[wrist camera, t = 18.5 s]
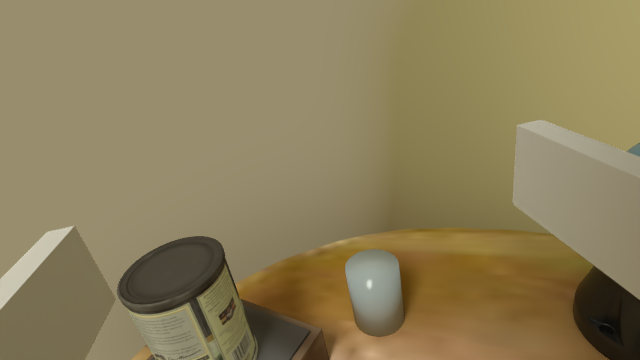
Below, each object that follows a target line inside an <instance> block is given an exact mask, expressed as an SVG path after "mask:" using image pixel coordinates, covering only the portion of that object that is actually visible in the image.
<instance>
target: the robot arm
mask: <svg viewBox="0 0 640 360" xmlns="http://www.w3.org/2000/svg"><path fill="white" fill-rule="evenodd" d="M513 189H514V190H513V205H515V206H516V207H517V208H519V209H520V210H521V211H523V212H524V213H525V214H527V215H528V216H529V217H531V218H532V219H533V220H535V221H536V222H537V223H539V224H540V225H541V226H543V227H544V228H545V229H547V230H548V231H549V232H550V233H552V234H553V235H554V236H556V237H557V238H558V239H560V240H561V241H562V242H564V243H565V244H566V245H568V246H569V247H570V248H572V249H573V250H574V251H576V252H577V253H578V254H580V255H581V256H582V257H584V258H585V259H586V260H588V261H589V262H590V263H592V264H593V265H594V267H593V268H592V269H591V270H590V272H589V273H588V274H587V276H586V277H585V278H584V279H583V281H582V282H581V283H580V284H579V286H578V288H577V290H576V293H575V298H574V304H573V315H574V319H575V322H576V324H577V326H578V328H579V329H580V331H581V332H582V334H583V335H584V336H585V338H586V339H587V340H588V341H589V342H590V343H591V344H592V345H593V346H594V347H595V348H596V349H597V350H599V351H600V352H601V353H602V354H604V355H605V356H606V357H608V358H609V359H611V360H640V143H638V144H637V145H635V146H633V147H632V148H631V149H629V150H628V151H627V152H626V151H623V150H620V149H618V148H615V147H613V146H610V145H607V144H604V143H602V142H599V141H597V140H594V139H591V138H589V137H586V136H583V135H581V134H578V133H575V132H573V131H570V130H567V129H565V128H562V127H559V126H557V125H554V124H551V123H549V122H546V121H543V120H537V121H533V122H529V123H525V124H520V125H517V135H516V153H515V171H514V188H513ZM115 300H116V299H115V296H114V295H113V293H112V291H111V289H110V288H109V286H108V284H107V282H106V280H105V279H104V277H103V275H102V273H101V272H100V270H99V268H98V266H97V264H96V263H95V261H94V259H93V257H92V256H91V254H90V252H89V250H88V248H87V247H86V245H85V243H84V241H83V240H82V238H81V236H80V234H79V232H78V231H77V229H76V227H75V226H72V227H67V228H63V229H58V230H54V231H49V232H47V233H46V234H45V235H44V236H43V237H42V238H41V239H40V240H39V241H38V242H37V243H36V244H35V245H34V246H33V247H32V248H31V249H30V250H29V251H28V252H27V253H26V254H25V255H24V256H23V257H22V258H21V259H20V260H19V261H18V262H17V263H16V264H15V265H14V266H13V267H12V268H11V269H10V270H9V271H8V272H7V273H6V274H5V275H4V276H3V277H2V278H1V279H0V360H85V358H86V357H87V354H88V353H89V351H90V349H91V347H92V345H93V343H94V341H95V339H96V337H97V335H98V333H99V331H100V329H101V327H102V325H103V323H104V321H105V320H106V318H107V316H108V314H109V312H110V310H111V308H112V306H113V304H114V302H115Z"/></svg>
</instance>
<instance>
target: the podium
mask: <svg viewBox="0 0 640 360" xmlns="http://www.w3.org/2000/svg"><path fill="white" fill-rule="evenodd" d="M240 300H241V302H242V305H243V308H244V310H245V313H246V316H247V318H248V321H249V323H250V326H251V329H252V331H253V334H254V336H255V338H256V341H257V346H258V352H257V358H256V360H329V357H328V353H327V349H326V344H325V340H324V336H323V332H322V329H320V328H318V327H315V326H312V325H309V324H307V323H304V322H301V321H299V320H296V319H293V318H291V317H288V316H285V315H283V314H280V313H277V312H274V311H272V310H269V309H266V308H264V307H261V306H258V305H256V304H253V303H250V302H248V301H245V300H242V299H240ZM147 360H156V359H155V358H154V356H153V354H152V355H151V356H150V357H149V358H148V359H147Z"/></svg>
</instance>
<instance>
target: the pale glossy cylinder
mask: <svg viewBox="0 0 640 360" xmlns="http://www.w3.org/2000/svg"><path fill="white" fill-rule="evenodd" d="M345 272H346V277H347V282H348V287H349V293H350V298H351V303H352V308H353V313H354V319H355V323H356V325H357V327H358V328H359V329H360V330H361V331H362V332H364V333H365V334H368V335H371V336H376V337H382V336H387V335H390V334H393V333H395V332H396V331H397V330H399V329H400V327H401V326H402V324H403V322H404V318H405V315H404V306H403V297H402V288H401V279H400V270H399V262H398V260H397V258H396V257H395V256H394V255H393V254H391V253H389V252H387V251H384V250H378V249H371V250H365V251H361V252H359V253H357V254H355V255H353V256H352V257H351V258H350V259H349V260H348V261H347V263H346V266H345Z"/></svg>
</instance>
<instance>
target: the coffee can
mask: <svg viewBox="0 0 640 360" xmlns="http://www.w3.org/2000/svg"><path fill="white" fill-rule="evenodd" d="M117 295H118V297H119V299H120V301H121V302H122V303H123V305H125V307H126V308H127V310H128V312H129V313H130V315H131V317H132V319H133V321H134V322H135V324H136V326H137V328H138V329H139V331H140V333H141V335H142V336H143V338H144V340H145V342H146V343H147V345H148V347H149V349H150V351H151V353H152V354H153V356H154V358H155V359H156V360H256V358H257V352H258V346H257V341H256V338H255V336H254V334H253V331H252V329H251V326H250V323H249V321H248V318H247V316H246V313H245V310H244V308H243V305H242V302H241V300H240V297H239V294H238V292H237V289H236V286H235V283H234V280H233V278H232V275H231V273H230V270H229V267H228V264H227V262H226V259H225V253H224V250H223V247H222V245H221V244H220V242H218V241H217V240H215V239H213V238H209V237H204V236H195V237H188V238H182V239H178V240H175V241H172V242H169V243H166V244H164V245H162V246H160V247H158V248H156V249H154V250H152V251H150V252H149V253H147V254H146V255H144V256H142V257H141V258H140V259H139V260H137V261H136V262H135V263H134V264H132V265H131V267H130V268H129V269H128V270H127V271H126V272H125V273H124V275H123V276H122V278H121V279H120V281H119V284H118V288H117Z"/></svg>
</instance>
